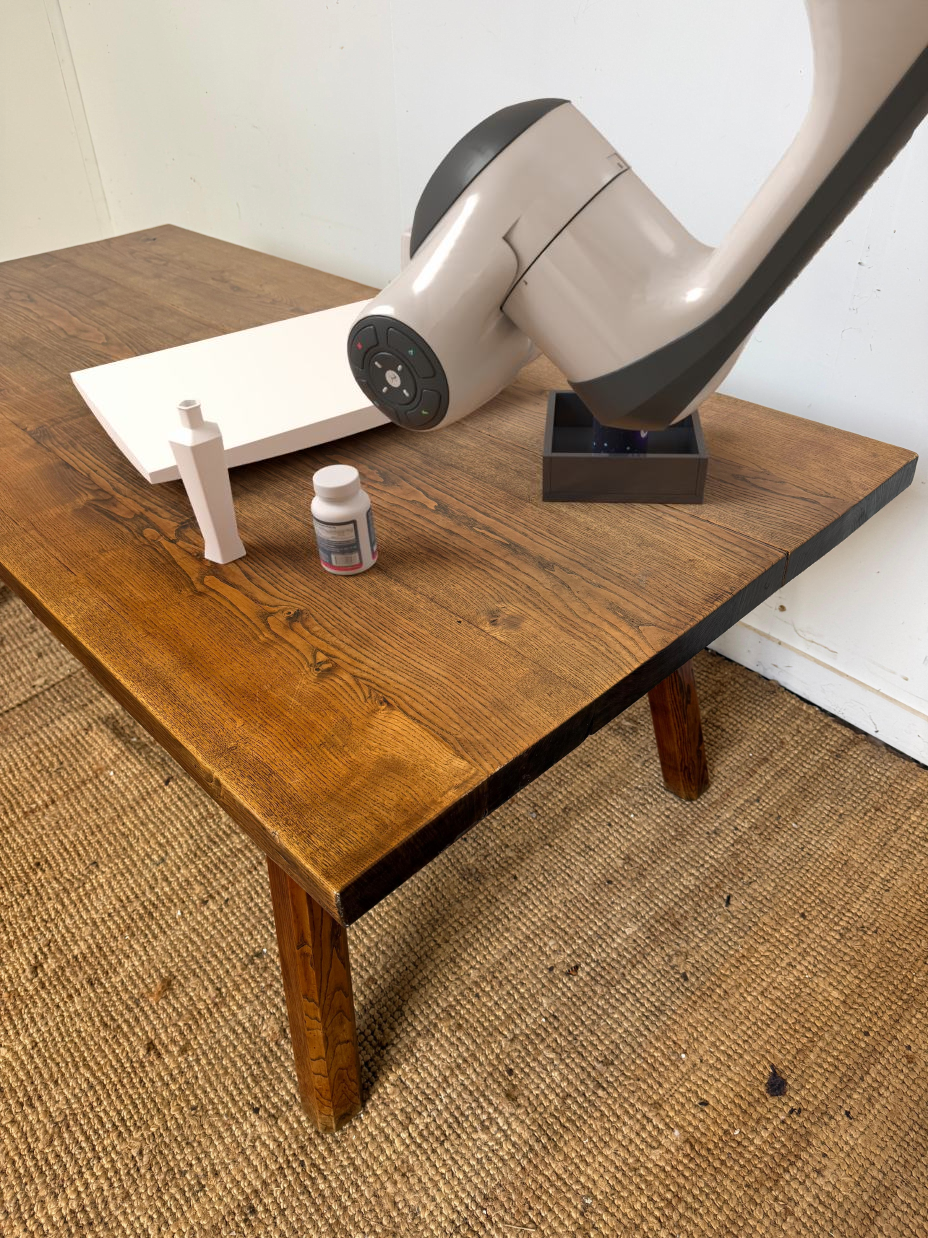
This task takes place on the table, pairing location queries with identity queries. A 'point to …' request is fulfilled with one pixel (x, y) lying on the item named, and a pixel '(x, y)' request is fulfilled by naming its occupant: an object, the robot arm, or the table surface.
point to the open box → (619, 460)
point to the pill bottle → (343, 521)
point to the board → (236, 392)
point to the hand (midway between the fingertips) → (587, 235)
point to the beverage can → (618, 440)
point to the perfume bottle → (207, 481)
